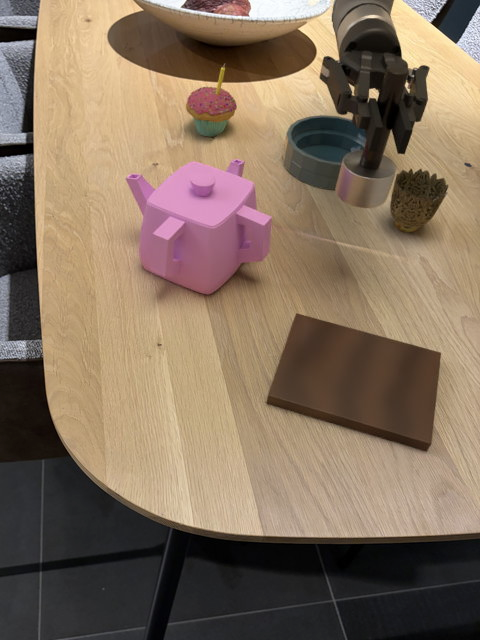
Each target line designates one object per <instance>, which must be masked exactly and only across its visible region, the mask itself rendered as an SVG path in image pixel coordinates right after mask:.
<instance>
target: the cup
mask: <svg viewBox="0 0 480 640" xmlns="http://www.w3.org/2000/svg"><path fill="white" fill-rule="evenodd" d="M394 179H395V180H394V183H393V186H392V192H391V196H390V204H389V211H390V214H391V217H392V218H393V226H394V228H395V229H396V230H397V231H399V232H401V233H404V234H413V233H416V232H417V231H418V229H419V228H420V227H422V226H424V225H426V224H428V223H430V221H431V220H432V219H433V217H434V216H435V215H436V213H437V212H438V210H439V208H440V207H441V205H442V203H443V201H444V199H445V197H446V196H447V194H448V190H449V184H447V182H446V179H445V178H444V177H441V178H438V174H437V173H436V172H435V173H433V174H431V175H430V171H429V170H428V169H427V170H423V168H419V169H418V170H416V171H415V172H414V171H413V168H410V169H409V170H408V171H407V170H404V169H401V170H400V172H398V173H396V174H395V178H394Z"/></svg>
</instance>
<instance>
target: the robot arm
mask: <svg viewBox="0 0 480 640" xmlns="http://www.w3.org/2000/svg"><path fill="white" fill-rule="evenodd" d="M394 2H395V0H334V1H333V5H332V12H331V23H332V29H333V32H334V35H335V40H336V41H335V42H336V47H337V48H336V49H337V53H338V59H335V58H334V57H332V56H330V55H325V56H323V58H322V62H321V68H320V73H319V80H320V81H322V83H324V84H325V85H326V87H327V90H328V92H329V95H330V98H331V101H332V103H333V105H334V107H335V111H336V114H338V115H341V116H345V115H347V114H348V113H349V114H352V117H351V120H352V121H351V123H352V124H353V125H356V126H357V127H358V128H359V129H365V134H366V139H367V144H368V149H369V151H374V152H376V149H377V146H378V143H379V139H380V136H381V133H382V130H383V125H382V121H381V117H380V113H379V108H378V104H377V98H375V97H370V90H373V89H374V90H375V91H377V93H379V92H380V89H381V85H382V82H383V78H384V75H385V71H386V68H387V66H389V65H401V66H404V67H406V68H407V69H408V70H409V74H408V78H407V81H406V83H407V87H406V86H405V87H404V90H403V94H402V97H401V100H400V103H399V106H398V109H397V113H396V116H395V119H394V122H393V125H392V129H391V133H392V137H393V141H394V144H395V145H394V146H395V148H396V149H395V150H396V152H397V154H398V155H406V151H407V149H408V147H409V143H410V140H411V136H412V135H413V131H414V130H413V129H414V127H415V124H416V123H420V122H422V118H423V116H424V113H425V110H426V108H427V106H428V105H427V104H428V101H429V95H428V85H427V84H428V83H427V78H428V75H429V73H430V70H431V68H430V66H428V65H426V64H421V65H420V66H418V67H413V68H410V67H409V63H408V61H406V60H405V59H403V52H402V47H401V43H400V40H399V37H398V34H397V29H396V28H395V24H394V22H393V19H392V16H391V13H392V9H393V6H394ZM351 86H352V87H353V90H352V88H351Z"/></svg>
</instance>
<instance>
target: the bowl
mask: <svg viewBox="0 0 480 640" xmlns="http://www.w3.org/2000/svg"><path fill="white" fill-rule="evenodd" d="M351 121H352V118H351V119H350V118H347V117H343V116H339V115H337V116H336V115H324V114H323V115H322V114H321V115H319V114H318V115H311V116H306V117H303V118H299V119H297V120H296V121H294V122H292V124H290V125H289V127H288V129H287V130H286V135H285V141H284V146H283V151H282V164H283V167H284V168H285V170H286V171H287V172H288V173H289V174H290V175H291V176H293V177H294V178H295V179H297V180H299V181H300V182H303V183H305V184H307V185H309V186H312V187H315V188H319V189H323V190H331V191H332V190H333V191H336V190H335V188H336V184H337V181H338V177H339V173H340V169H341V165H342V161H343V158H344V156H345V155H346V154H348V153H350V152H352V151H357V150H363V149H364V145H365V142H366V134H365V129H359V128H358V127H357V126H356V125H353V124H352V123H351Z"/></svg>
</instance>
